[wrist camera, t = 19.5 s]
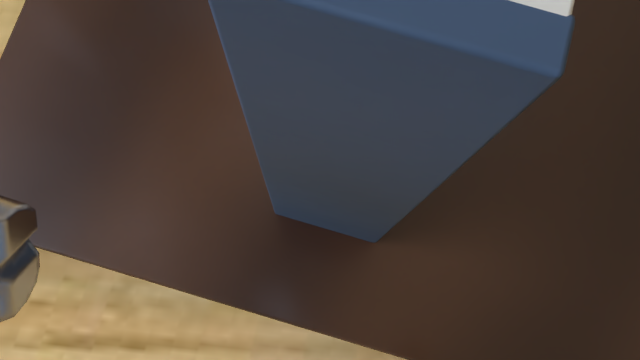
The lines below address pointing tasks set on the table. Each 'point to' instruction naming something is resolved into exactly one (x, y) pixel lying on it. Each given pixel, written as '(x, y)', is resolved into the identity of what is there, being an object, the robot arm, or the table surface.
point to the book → (382, 94)
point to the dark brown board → (316, 242)
